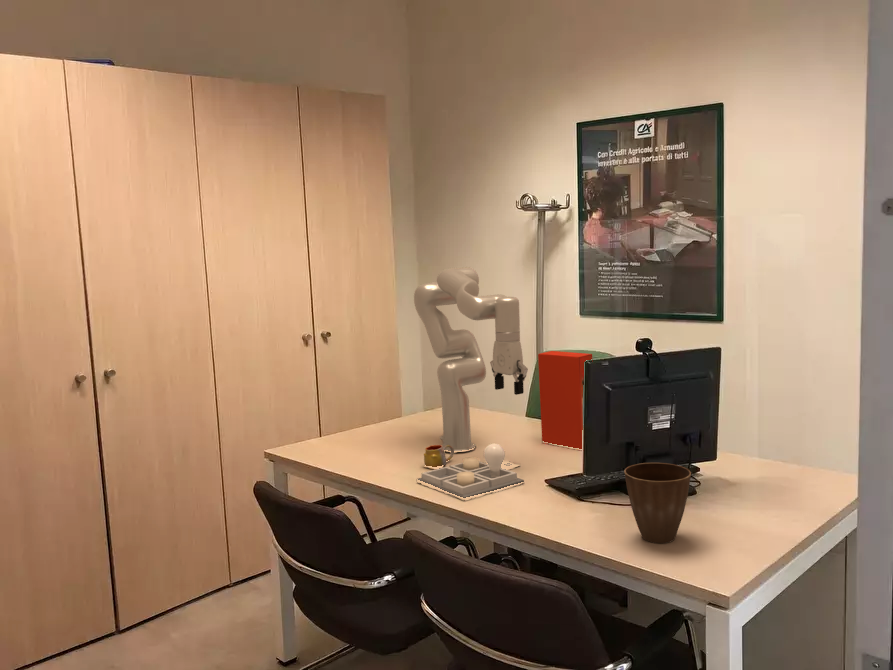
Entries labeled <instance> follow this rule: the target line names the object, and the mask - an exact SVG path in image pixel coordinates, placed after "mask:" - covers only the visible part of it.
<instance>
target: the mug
mask: <svg viewBox="0 0 893 670" xmlns="http://www.w3.org/2000/svg"><path fill="white" fill-rule="evenodd" d="M447 447H449V448H450V449H451V453H450V455H449V456H448V457H447V456H446V454H447V453H445V452H444V450H445V449H446V448H447ZM424 450H425V451H424V453H423V462H424V466H425V465H426V466H432V467H437V466H442V465H446V464H447V463H446V461H448V460H449V461H451V460H452V458H453V457H454V454H455V453H454V449H453V448H452V446H450V445H446V446H445V447H444V448H443V446H442V444H432V445H429V446H427V447H425V448H424ZM449 461H448V462H449Z"/></svg>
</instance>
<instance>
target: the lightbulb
mask: <svg viewBox="0 0 893 670" xmlns="http://www.w3.org/2000/svg"><path fill="white" fill-rule="evenodd" d="M483 458H484V461H485V463H486V462H487V463H488V465H489V468H490V470H491V478H496V477H500V468H501V464H502V462H503V460H505V458H506V451H505V449H504V447H503V446H502V445H501V444H499V443H495V442H493V443H489V444H488V445H487V446H486V447H485V448H484V449H483Z"/></svg>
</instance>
